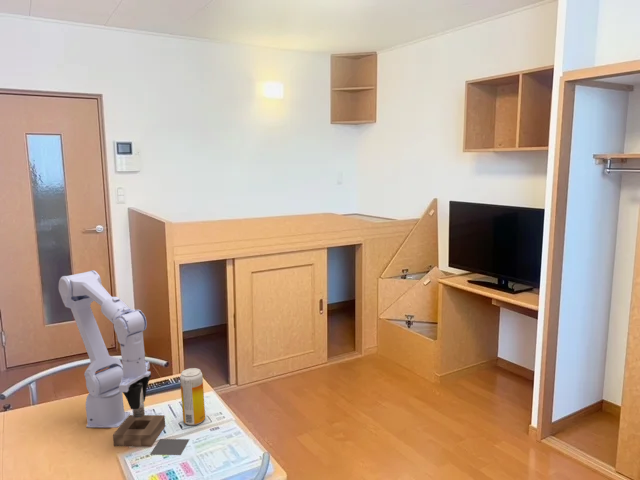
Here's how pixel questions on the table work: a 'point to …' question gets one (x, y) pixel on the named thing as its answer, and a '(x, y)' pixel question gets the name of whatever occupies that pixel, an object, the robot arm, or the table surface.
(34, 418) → the table surface
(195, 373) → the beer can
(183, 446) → the rubber mat
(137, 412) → the steel peg
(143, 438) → the walnut block
